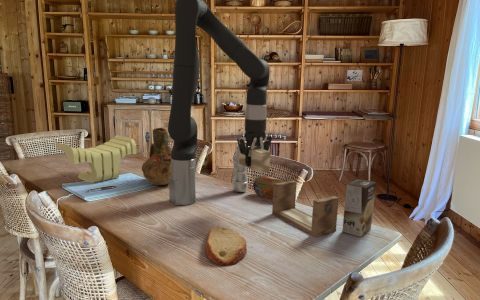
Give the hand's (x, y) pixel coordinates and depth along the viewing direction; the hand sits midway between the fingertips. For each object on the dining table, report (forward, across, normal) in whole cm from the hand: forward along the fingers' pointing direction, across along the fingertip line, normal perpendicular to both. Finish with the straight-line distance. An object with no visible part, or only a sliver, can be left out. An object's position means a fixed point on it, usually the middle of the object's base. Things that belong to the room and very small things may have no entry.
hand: (253, 165), depth 130 cm
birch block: (+1, 0, 0) cm, 1 cm away
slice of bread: (+18, -24, -20) cm, 36 cm away
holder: (+17, +9, -17) cm, 26 cm away
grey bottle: (+17, +8, +21) cm, 28 cm away
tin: (+17, +15, +9) cm, 25 cm away
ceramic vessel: (+18, -17, +46) cm, 52 cm away
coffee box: (+17, +20, -31) cm, 41 cm away
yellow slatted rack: (+18, -39, +69) cm, 81 cm away
